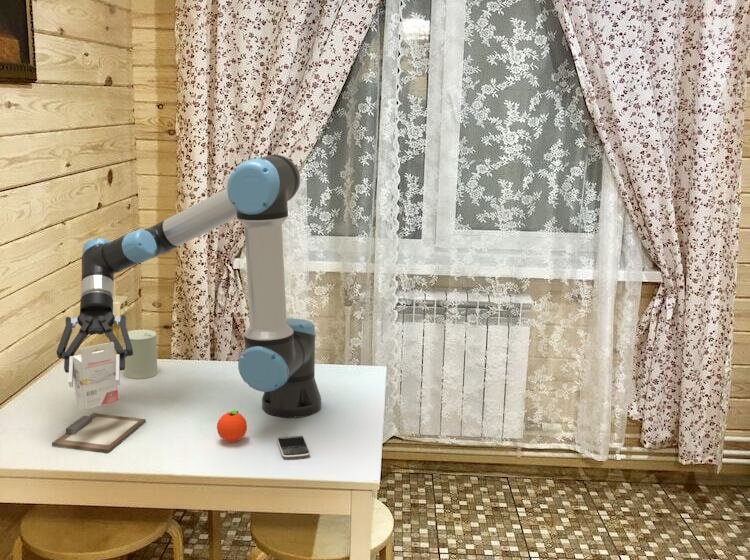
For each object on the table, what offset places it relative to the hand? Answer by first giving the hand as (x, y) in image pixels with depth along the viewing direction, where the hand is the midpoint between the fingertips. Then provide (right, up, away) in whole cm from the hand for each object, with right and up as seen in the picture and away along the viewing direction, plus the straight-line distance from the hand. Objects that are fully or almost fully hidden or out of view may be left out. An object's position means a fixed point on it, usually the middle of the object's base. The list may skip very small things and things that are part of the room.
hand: (94, 383), depth 197 cm
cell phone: (+45, -16, +1) cm, 48 cm away
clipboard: (0, -13, +6) cm, 14 cm away
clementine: (+31, -14, +5) cm, 34 cm away
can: (-2, -3, +46) cm, 46 cm away
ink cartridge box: (-1, -5, +4) cm, 7 cm away
